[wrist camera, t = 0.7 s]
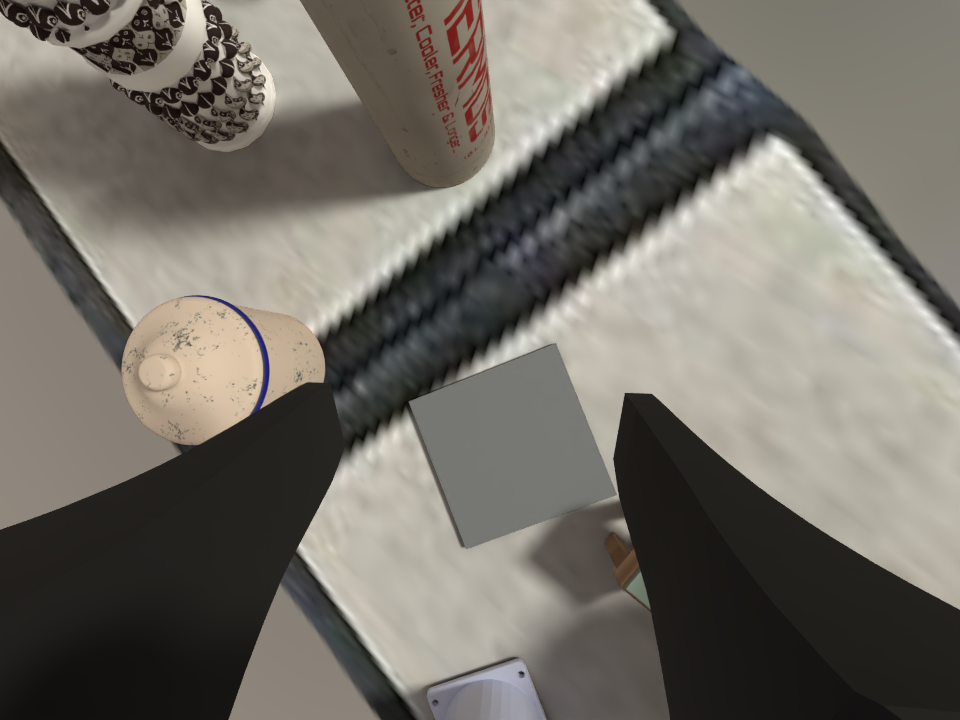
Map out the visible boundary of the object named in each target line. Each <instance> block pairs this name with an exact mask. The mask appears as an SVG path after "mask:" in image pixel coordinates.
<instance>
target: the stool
mask: <svg viewBox="0 0 960 720" xmlns="http://www.w3.org/2000/svg"><path fill="white" fill-rule="evenodd" d="M604 543H605V545H606V548H607V550H608V552H609V554H610V556H611V558H612V560H613V562H614V565H615V567H616V571H615V572H614V575H615V577H616V579H617V581H618V584H619V586H620V587H621V588H622V589H623V590H625V591H626V592H627V593H628V594H630V595H631V596H632V597H633V598H634V599H636V600H637V601H638V602H639V603H641V604H642V605H643V606H644V607H645V608H647V609H648V610H649V611H650V612H651V608H650V604H649V600H648V596H647V592H646V588H645V585H644V581H643V578H642V574H641V571H640V568H639V564H638V561H637V557H636V554H635V550H634V549H633V550H632V551H631V553H630V551H629V550H628V548H627V546H626V545H625V543H624V541H623V540H621V539H620V538H619V537H618V536H616V535H615V534H614V533H612V534H611V535H610V536H609V538H608V539H607V540H606V541H605V542H604Z"/></svg>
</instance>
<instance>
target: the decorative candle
mask: <svg viewBox="0 0 960 720" xmlns="http://www.w3.org/2000/svg"><path fill="white" fill-rule="evenodd" d="M0 12H1V13H2V14H3V15H4V16H5V17H6V18H7V19H8V20H10V21H12V22H13V23H14V24H16V25H17V26H20V27H26V28H28V29H29V30H31V32H32V34H33V35H34V36H35V37H36V38H38V39H39V40H42V41H46V40H47V41H48V42H50V43H51V44H53V45H58V46H67V47H70V48H71V49H73V50H74V51H76V52H77V53H79V54H80V55H82V56H83V57H84V59H85V60H86V62H87V63H88V64H89V65H91V66H92V67H94V68H95V69H97V70H98V71H99V72H101V73H102V74H104V75H105V76H107V77H108V78H110V81H111V84H112V86H113V87H114V88H115V89H117V90H118V91H125V94H126V95H127V97H128V98H130V99H131V100H133V101H135V102H136V103H138V104H140V105H145V106H146V108H147V109H148V111H149V112H151V113H152V114H154V115H156V116H157V117H158V118H159V119H161V120H162V121H166V123H167V124H168V125H169V126H171V127H172V128H174V129H176V130H177V131H180V132H182V133H183V134H184V135H185V136H186V137H187V138H189V139H191V140H193V141H196V142H197V143H199V144H201V145H202V146H204V147H205V148H207V149H208V150H215V151H222V152H231V151H234V150H238V149H241V148H245V147H247V146H249V145H250V144H251V143H252V142H254V141H255V140H256V139H257V138H259V137H260V136H261V135H263V133H264V131H265V129H266V128H267V126H268V124H269V123H270V121H271V119H272V118H273V114H274V108H275V102H276V92H275V87H274V82H273V78H272V75H271V74H270V72H269V71H268V69H267V68H266V67H265V65H264V64H263V62H262V61H261V59H260V58H259V57H257V56H256V55H254V54H252V53H251V52H250V51H251V46H250V44H249V43H245V42H242V43H240V44H239V43H238V41H237V37H238V30H237V29H236V28H235V27H231V26H230V25H229V24H228V23H227V22H225V21H223V20H222V14H221V12H220V10H219V9H218V8H217V7H216V6H213V5H212V4H211V3H209V2H207V1H206V0H0Z"/></svg>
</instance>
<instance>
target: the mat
mask: <svg viewBox="0 0 960 720" xmlns="http://www.w3.org/2000/svg"><path fill="white" fill-rule="evenodd" d="M409 404H410V407H411V409H412V412H413V414H414V417H415V419H416V422H417V425H418V427H419V430H420V432H421V435H422V437H423V440H424V442H425V445H426V448H427V450H428V453H429V455H430V458H431V460H432V463H433V466H434V468H435V471H436V473H437V476H438V478H439V481H440V483H441V486H442V489H443V491H444V494H445V496H446V499H447V501H448V504H449V507H450V509H451V512H452V514H453V517H454V519H455V522H456V525H457V527H458V530H459V532H460V535H461V537H462V540H463V542H464V545H465V548H466V549H468V548H471V547H474V546H476V545H479V544H482V543H485V542H487V541H490V540H493V539H496V538H499V537H501V536H504V535H507V534H510V533H512V532H515V531H518V530H521V529H523V528H526V527H529V526H532V525H535V524H537V523H540V522H543V521H546V520H548V519H551V518H554V517H557V516H559V515H562V514H565V513H568V512H571V511H573V510H576V509H579V508H582V507H584V506H587V505H590V504H593V503H595V502H598V501H601V500H604V499H607V498H609V497H612V496H615V495H617V494H616V492H615V489H614V487H613V484H612V482H611V479H610V477H609V474H608V472H607V469H606V467H605V464H604V462H603V459H602V457H601V454H600V452H599V449H598V447H597V444H596V442H595V439H594V437H593V435H592V432H591V430H590V427H589V425H588V422H587V420H586V417H585V415H584V412H583V410H582V407H581V405H580V402H579V400H578V397H577V395H576V392H575V390H574V387H573V385H572V382H571V380H570V377H569V375H568V372H567V370H566V368H565V365H564V363H563V360H562V358H561V355H560V353H559V350H558V348H557V345H556V343H555V344H553V345H550V346H548V347H545V348H543V349H540V350H538V351H535V352H533V353H530V354H527V355H525V356H522V357H520V358H517V359H515V360H512V361H510V362H507V363H505V364H502V365H500V366H497V367H495V368H492V369H490V370H487V371H485V372H482V373H480V374H477V375H475V376H472V377H470V378H467V379H464V380H462V381H459V382H457V383H454V384H452V385H449V386H447V387H444V388H442V389H439V390H437V391H434V392H432V393H429V394H427V395H424V396H422V397H419V398H417V399H414V400H412V401H409Z"/></svg>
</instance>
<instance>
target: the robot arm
mask: <svg viewBox="0 0 960 720" xmlns="http://www.w3.org/2000/svg"><path fill="white" fill-rule="evenodd" d="M344 447H345V444H344V440H343V436H342V431H341V427H340V423H339V418H338V414H337V410H336V405H335V401H334V397H333V392H332V388H331V384H330V383H318V382H306V383H304V384H302V385H300V386H298V387H297V388H295V389H293V390H291V391H289V392H288V393H286V394H284V395H283V396H281V397H279V398H278V399H276V400H274V401H273V402H271V403H269V404H268V405H266V406H264V407H263V408H261V409H260V410H258V411H256V412H255V413H253V414H251V415H250V416H248V417H246V418H245V419H243V420H241V421H240V422H238V423H236V424H235V425H233V426H231V427H230V428H228V429H226V430H224V431H222V432H221V433H219V434H217V435H215V436H214V437H212V438H210V439H208V440H206V441H205V442H203V443H201V444H199V445H198V446H196V447H194V448H192V449H190V450H189V451H187V452H185V453H183V454H181V455H179V456H177V457H175V458H173V459H171V460H169V461H167V462H165V463H163V464H162V465H159V466H157V467H155V468H153V469H151V470H149V471H147V472H144V473H143V474H140V475H138V476H136V477H134V478H132V479H129V480H127V481H125V482H123V483H120V484H118V485H116V486H113V487H111V488H108V489H106V490H104V491H101V492H99V493H97V494H94V495H92V496H89V497H87V498H84V499H82V500H79V501H77V502H74V503H72V504H70V505H67V506H65V507H62V508H60V509H57V510H54V511H52V512H49V513H46V514H43V515H41V516H38V517H35V518H33V519H30V520H27V521H24V522H21V523H19V524H16V525H13V526H10V527H7V528H4V529H1V530H0V720H228V719H229V716H230V713H231V711H232V708H233V705H234V702H235V699H236V696H237V693H238V690H239V688H240V685H241V682H242V679H243V676H244V673H245V670H246V668H247V665H248V662H249V660H250V657H251V655H252V652H253V649H254V646H255V644H256V641H257V638H258V636H259V633H260V631H261V628H262V625H263V623H264V620H265V618H266V616H267V613H268V611H269V608H270V606H271V603H272V601H273V599H274V596H275V594H276V591H277V589H278V586H279V584H280V581H281V579H282V577H283V575H284V573H285V571H286V569H287V567H288V565H289V563H290V561H291V559H292V557H293V555H294V553H295V551H296V549H297V547H298V546H299V544H300V542H301V540H302V538H303V536H304V534H305V532H306V530H307V529H308V527H309V525H310V523H311V521H312V519H313V517H314V515H315V514H316V512H317V510H318V508H319V506H320V504H321V502H322V500H323V498H324V496H325V494H326V492H327V491H328V489H329V487H330V485H331V483H332V480H333V478H334V475H335V472H336V470H337V467H338V465H339V462H340V459H341V456H342V453H343V450H344ZM613 460H614V467H615V473H616V480H617V486H618V492H619V498H620V502H621V505H622V509H623V512H624V516H625V519H626V523H627V526H628V530H629V533H630V537H631V540H632V544H633V547H634V550H635V554H636V557H637V561H638V564H639V568H640V571H641V574H642V578H643V581H644V585H645V588H646V592H647V596H648V600H649V604H650V608H651V613H652V619H653V624H654V629H655V634H656V640H657V645H658V650H659V656H660V661H661V667H662V673H663V679H664V684H665V690H666V696H667V702H668V708H669V713H670V720H960V610H959V609H957V608H955V607H953V606H952V605H950V604H948V603H946V602H944V601H942V600H940V599H938V598H937V597H935V596H933V595H931V594H929V593H927V592H925V591H924V590H922V589H920V588H918V587H916V586H914V585H912V584H910V583H909V582H907V581H905V580H903V579H901V578H900V577H898V576H896V575H894V574H893V573H891V572H889V571H887V570H886V569H884V568H882V567H880V566H879V565H877V564H875V563H873V562H872V561H870V560H868V559H867V558H865V557H863V556H862V555H860V554H858V553H857V552H855V551H853V550H852V549H850V548H849V547H847V546H845V545H844V544H842V543H840V542H839V541H837V540H835V539H834V538H832V537H830V536H829V535H827V534H826V533H824V532H823V531H821V530H820V529H818V528H816V527H815V526H813V525H812V524H810V523H809V522H807V521H806V520H804V519H803V518H801V517H800V516H799V515H797V514H796V513H794V512H793V511H791V510H790V509H788V508H787V507H786V506H784V505H783V504H781V503H780V502H778V501H777V500H776V499H774V498H773V497H771V496H770V495H769V494H767V493H766V492H765V491H763V490H762V489H761V488H759V487H758V486H757V485H755V484H754V483H753V482H751V481H750V480H749V479H748V478H746V477H745V476H744V475H743V474H741V473H740V472H739V471H738V470H736V469H735V468H734V467H733V466H731V465H730V464H729V463H728V462H727V461H725V460H724V459H723V458H722V457H721V456H719V455H718V454H717V453H716V452H715V451H714V450H712V449H711V448H710V447H709V446H708V445H707V444H706V443H705V442H703V441H702V440H701V439H700V438H699V437H698V436H697V435H696V434H695V433H693V432H692V431H691V430H690V429H689V428H688V427H687V426H686V425H685V424H684V423H683V422H682V421H681V420H679V419H678V418H677V417H676V416H675V415H674V414H673V413H672V412H671V411H670V410H669V409H668V408H667V407H666V406H665V405H664V404H662V403H661V402H660V401H659V400H658V399H657V398H656V397H655V396H654V395H652V394H640V393H625V396H624V402H623V407H622V413H621V419H620V424H619V430H618V435H617V441H616V447H615V452H614V458H613ZM519 671H523V672H524V674H519V673H518V672H519ZM427 700H428V703H429V705H430V708H431V710H432V713H433V716H434V718H435V720H547V718H546V715H545V713H544V710H543V708H542V705H541V703H540V700H539V697H538V695H537V692H536V690H535V687H534V685H533V682H532V679H531V677H530V674H529V672H528V669H527V667H526V664H525V662H524V661H523V660H522V659H520V658H517V659H514V660H511V661H508V662H505V663H502V664H499V665H496V666H493V667H490V668H487V669H484V670H481V671H478V672H475V673H472V674H469V675H466V676H463V677H460V678H457V679H454V680H451V681H448V682H445V683H442V684H439V685H436V686H433V687H431V688H429V689H428V691H427ZM433 700H437V701H438V702H434V701H433Z"/></svg>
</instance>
